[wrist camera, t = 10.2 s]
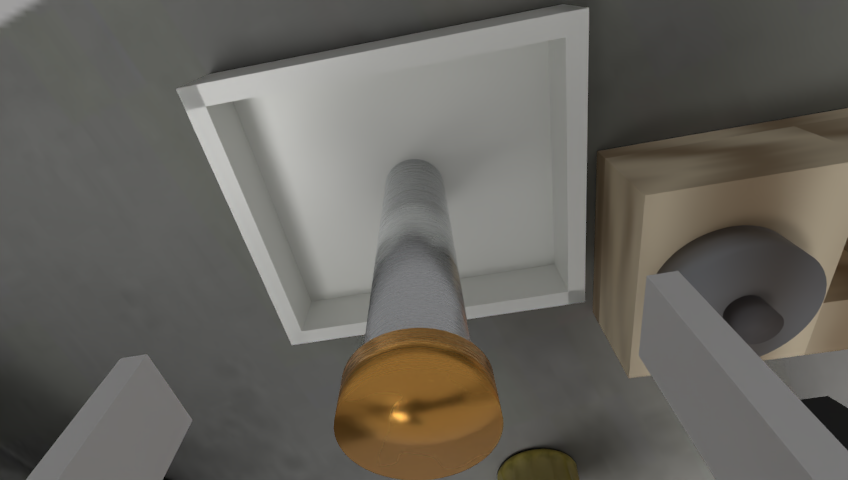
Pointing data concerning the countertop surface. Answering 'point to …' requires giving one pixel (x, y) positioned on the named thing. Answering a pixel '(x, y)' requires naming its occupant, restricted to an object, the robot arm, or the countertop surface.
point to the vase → (539, 466)
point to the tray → (403, 140)
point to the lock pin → (417, 348)
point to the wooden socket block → (730, 232)
